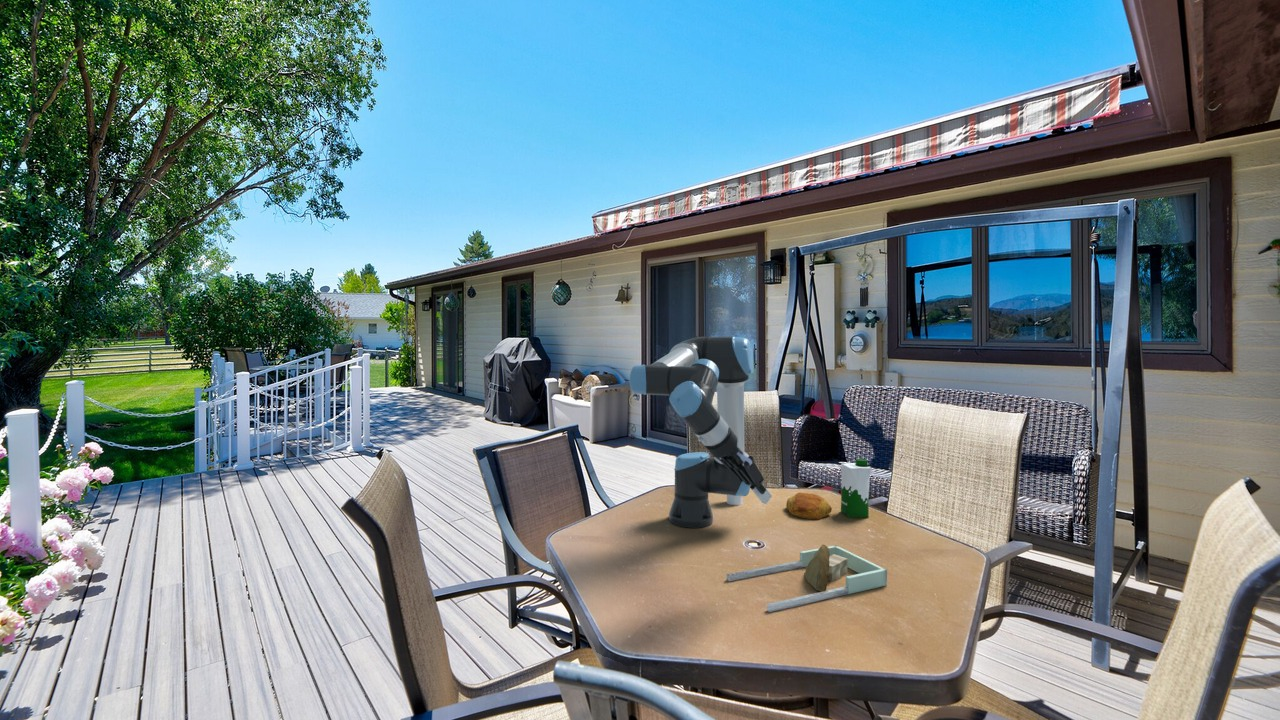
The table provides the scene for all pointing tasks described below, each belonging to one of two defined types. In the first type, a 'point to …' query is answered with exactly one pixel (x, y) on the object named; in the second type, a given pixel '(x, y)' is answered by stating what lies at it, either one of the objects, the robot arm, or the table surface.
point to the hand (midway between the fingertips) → (767, 499)
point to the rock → (819, 569)
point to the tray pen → (868, 571)
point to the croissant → (808, 506)
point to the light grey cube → (833, 570)
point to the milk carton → (855, 489)
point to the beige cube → (842, 561)
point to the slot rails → (793, 601)
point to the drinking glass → (734, 500)
